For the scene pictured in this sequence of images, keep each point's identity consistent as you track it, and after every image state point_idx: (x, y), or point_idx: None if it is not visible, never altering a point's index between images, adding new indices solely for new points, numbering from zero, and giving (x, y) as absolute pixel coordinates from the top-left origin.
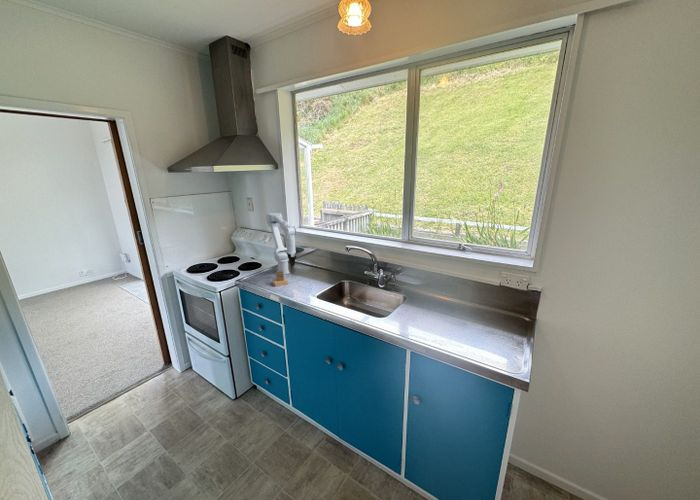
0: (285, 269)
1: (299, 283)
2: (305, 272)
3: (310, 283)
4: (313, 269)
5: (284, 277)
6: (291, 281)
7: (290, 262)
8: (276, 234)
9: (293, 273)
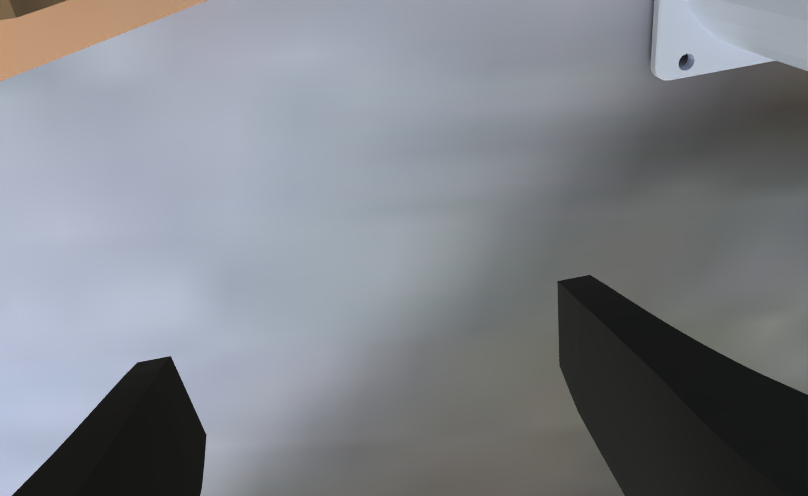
0: (737, 2)
1: (66, 296)
2: None
3: None
4: None
5: (163, 10)
6: (172, 148)
7: (24, 493)
8: None
9: (640, 154)
